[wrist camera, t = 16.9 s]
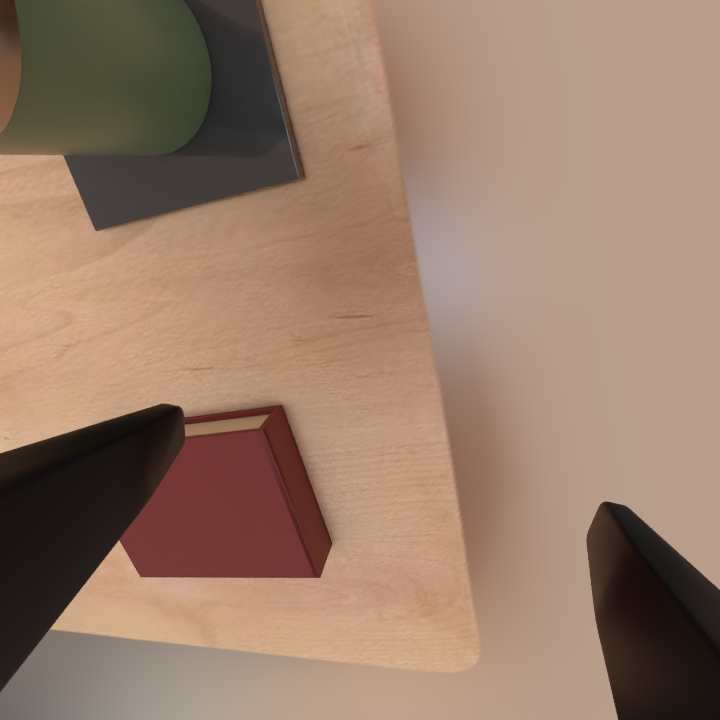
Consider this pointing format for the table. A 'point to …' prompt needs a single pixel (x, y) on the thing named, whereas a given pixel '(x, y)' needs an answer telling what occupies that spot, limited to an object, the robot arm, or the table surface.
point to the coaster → (206, 132)
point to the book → (232, 505)
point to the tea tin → (101, 77)
